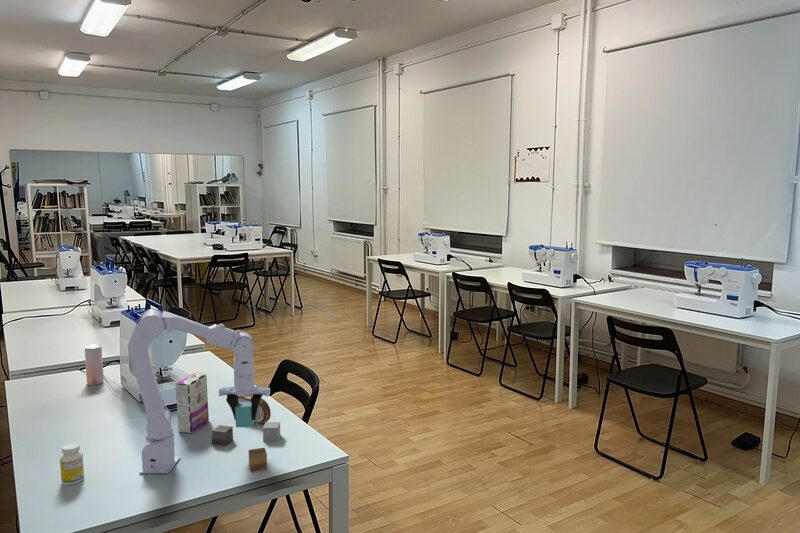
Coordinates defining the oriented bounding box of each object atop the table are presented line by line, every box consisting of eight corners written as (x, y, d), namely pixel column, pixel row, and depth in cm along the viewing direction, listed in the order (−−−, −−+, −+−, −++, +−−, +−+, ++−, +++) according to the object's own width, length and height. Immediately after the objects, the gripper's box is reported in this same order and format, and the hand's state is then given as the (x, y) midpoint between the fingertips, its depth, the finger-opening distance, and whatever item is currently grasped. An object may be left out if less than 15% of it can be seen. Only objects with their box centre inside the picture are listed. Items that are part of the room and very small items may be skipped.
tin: (271, 424, 196) (271, 399, 195) (264, 427, 194) (264, 402, 193) (240, 414, 204) (239, 390, 203) (233, 417, 202) (232, 393, 201)
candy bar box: (195, 419, 200) (193, 372, 198) (209, 420, 199) (207, 373, 197) (177, 432, 189) (174, 383, 187) (191, 433, 188) (189, 384, 186)
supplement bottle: (80, 484, 156) (78, 450, 155) (58, 486, 155) (55, 451, 154) (87, 474, 161) (84, 441, 160) (65, 476, 160) (63, 442, 159)
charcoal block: (225, 446, 179) (224, 432, 179) (212, 444, 181) (211, 430, 180) (233, 440, 184) (232, 426, 183) (220, 438, 185) (219, 424, 184)
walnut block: (267, 469, 165) (266, 454, 165) (250, 472, 164) (250, 456, 163) (265, 462, 169) (264, 447, 169) (248, 464, 168) (248, 449, 167)
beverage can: (87, 381, 236) (84, 345, 234) (104, 379, 239) (101, 343, 237) (86, 386, 231) (83, 349, 229) (103, 384, 234) (101, 347, 232)
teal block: (251, 427, 172) (250, 407, 171) (235, 427, 172) (235, 407, 171) (254, 421, 176) (254, 401, 176) (239, 421, 176) (239, 401, 176)
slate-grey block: (277, 441, 183) (277, 427, 182) (263, 441, 183) (262, 427, 182) (280, 435, 188) (280, 422, 187) (266, 435, 187) (265, 421, 187)
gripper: (214, 378, 168) (216, 424, 170) (266, 378, 168) (267, 424, 170) (222, 370, 175) (223, 414, 177) (271, 371, 175) (272, 414, 177)
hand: (245, 418), depth 174 cm, fingers closed on teal block, 4 cm apart
